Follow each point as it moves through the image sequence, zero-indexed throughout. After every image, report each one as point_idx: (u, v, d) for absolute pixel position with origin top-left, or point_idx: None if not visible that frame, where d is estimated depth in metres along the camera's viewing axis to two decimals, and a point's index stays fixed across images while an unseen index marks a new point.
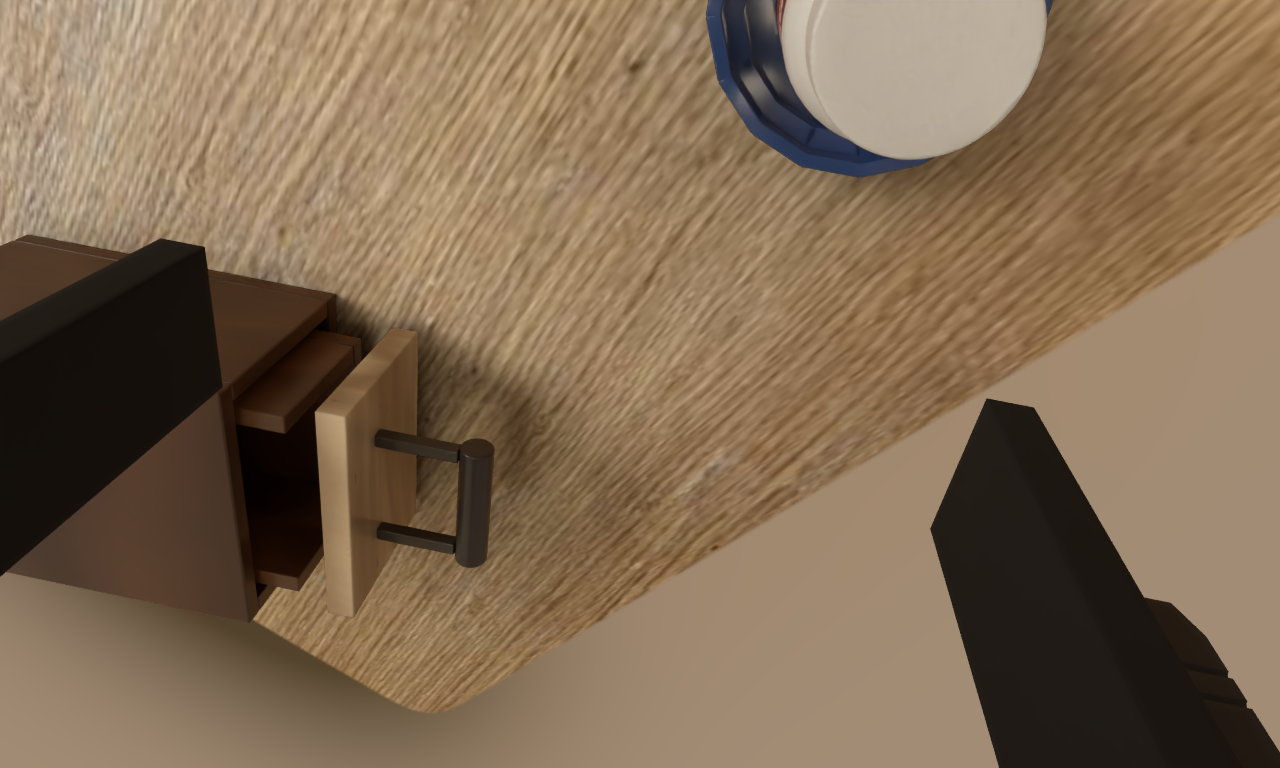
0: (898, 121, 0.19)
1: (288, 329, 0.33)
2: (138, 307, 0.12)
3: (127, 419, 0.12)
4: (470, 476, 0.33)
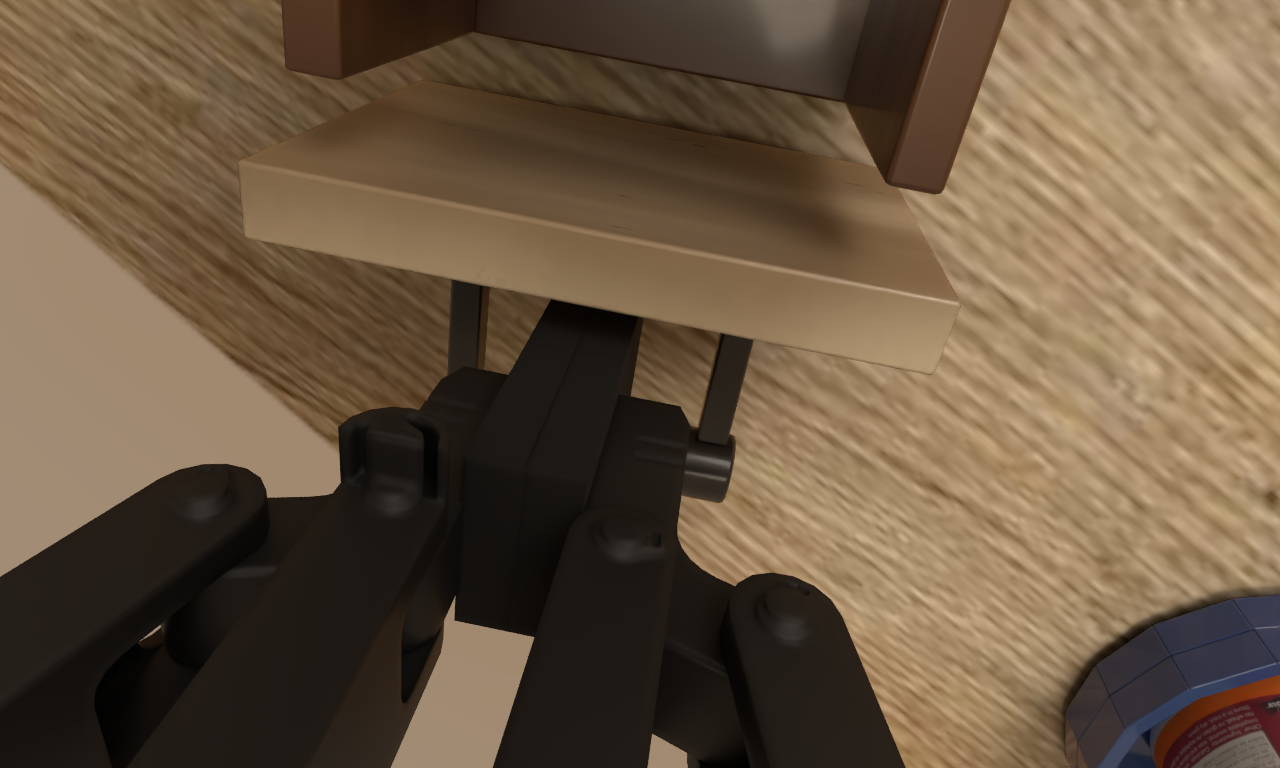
0: None
1: None
2: None
3: None
4: None
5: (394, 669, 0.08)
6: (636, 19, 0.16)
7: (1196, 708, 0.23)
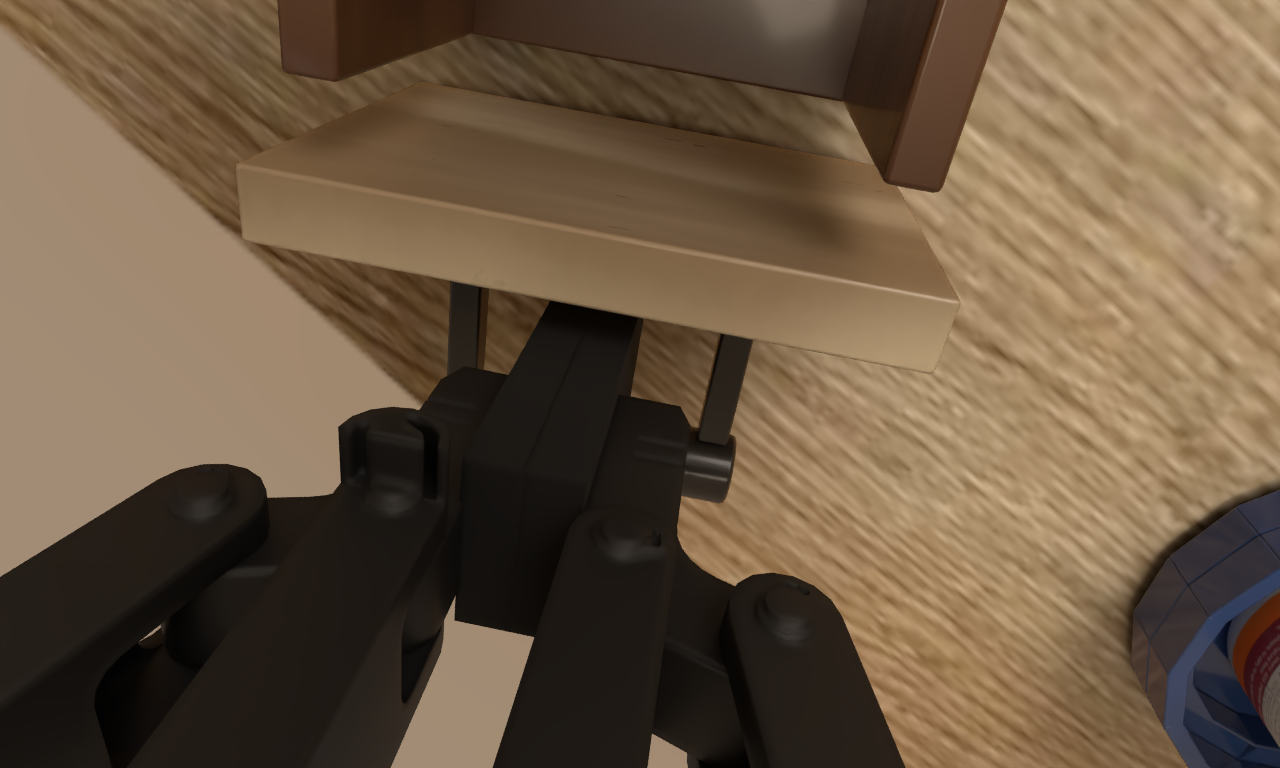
0: None
1: None
2: None
3: None
4: None
5: (394, 669, 0.08)
6: (634, 19, 0.16)
7: None
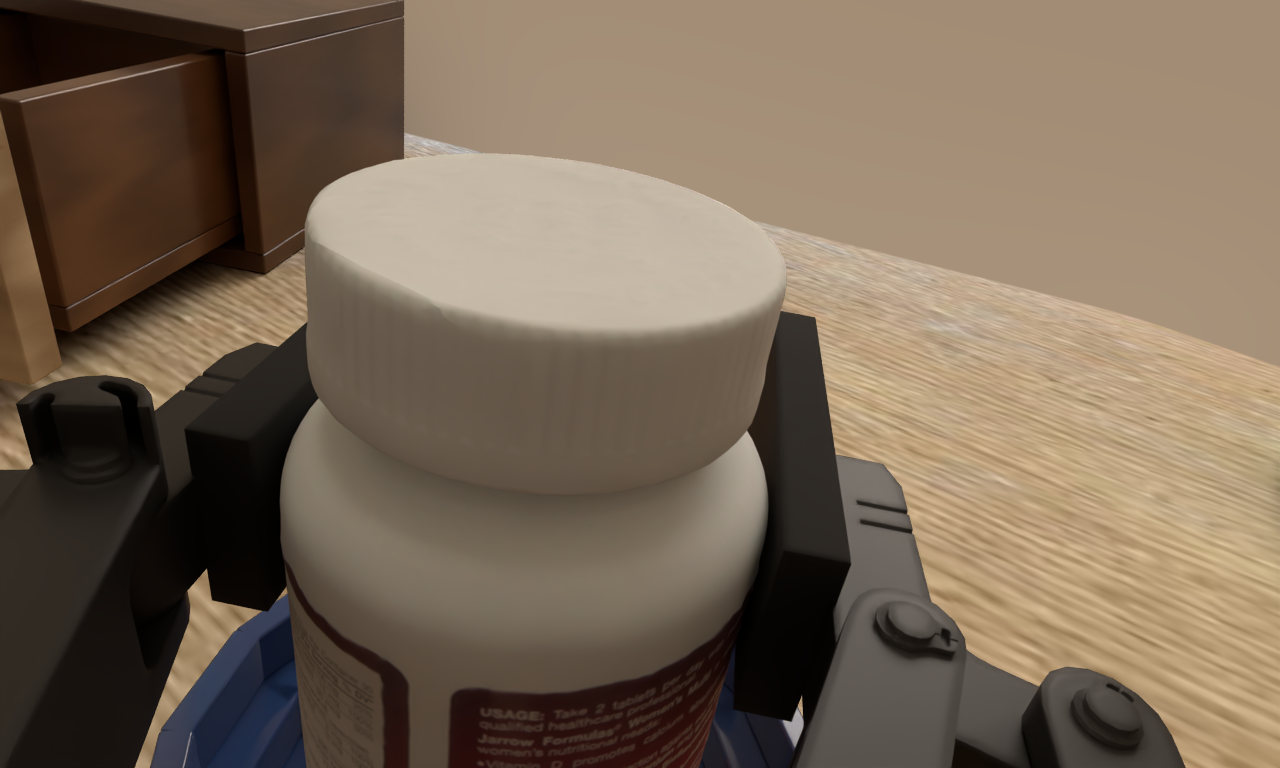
0: (411, 190, 0.09)
1: (259, 177, 0.30)
2: None
3: None
4: None
5: (127, 633, 0.08)
6: None
7: None
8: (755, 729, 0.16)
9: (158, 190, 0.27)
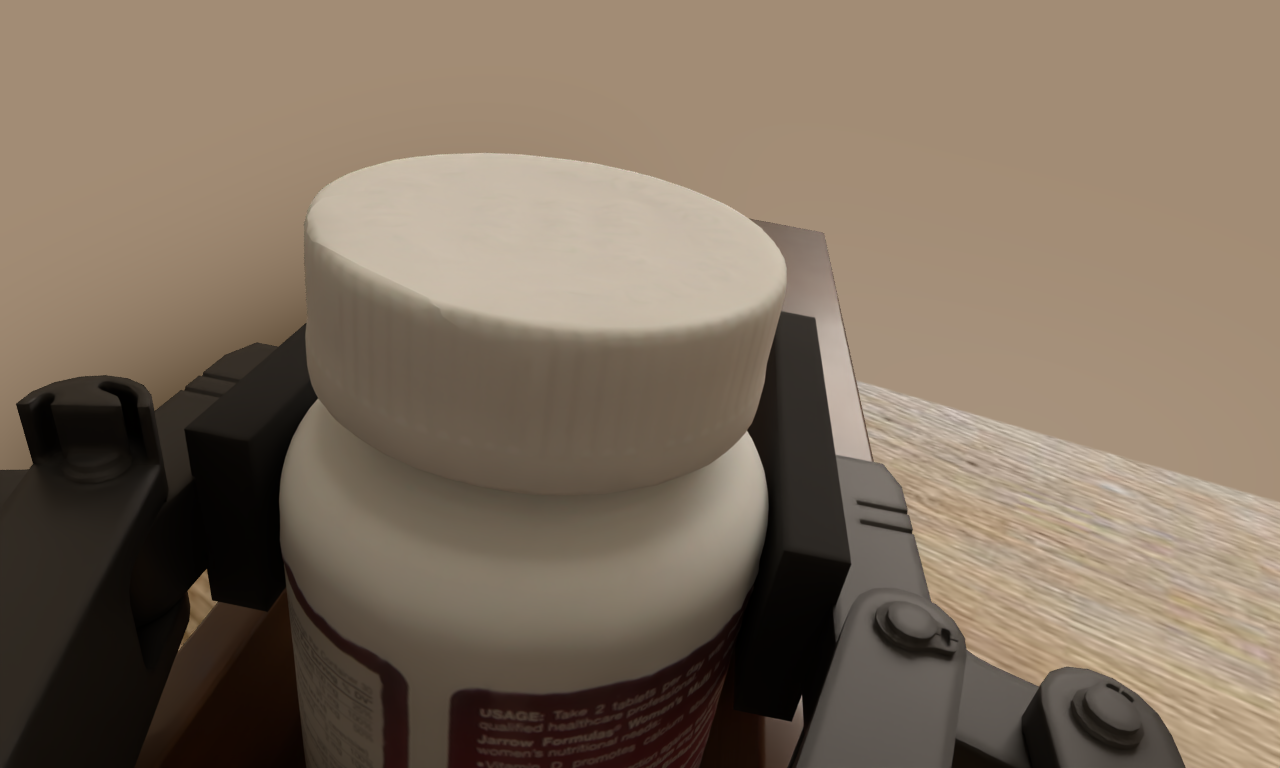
0: (411, 190, 0.09)
1: None
2: None
3: None
4: None
5: (127, 633, 0.08)
6: None
7: None
8: None
9: None
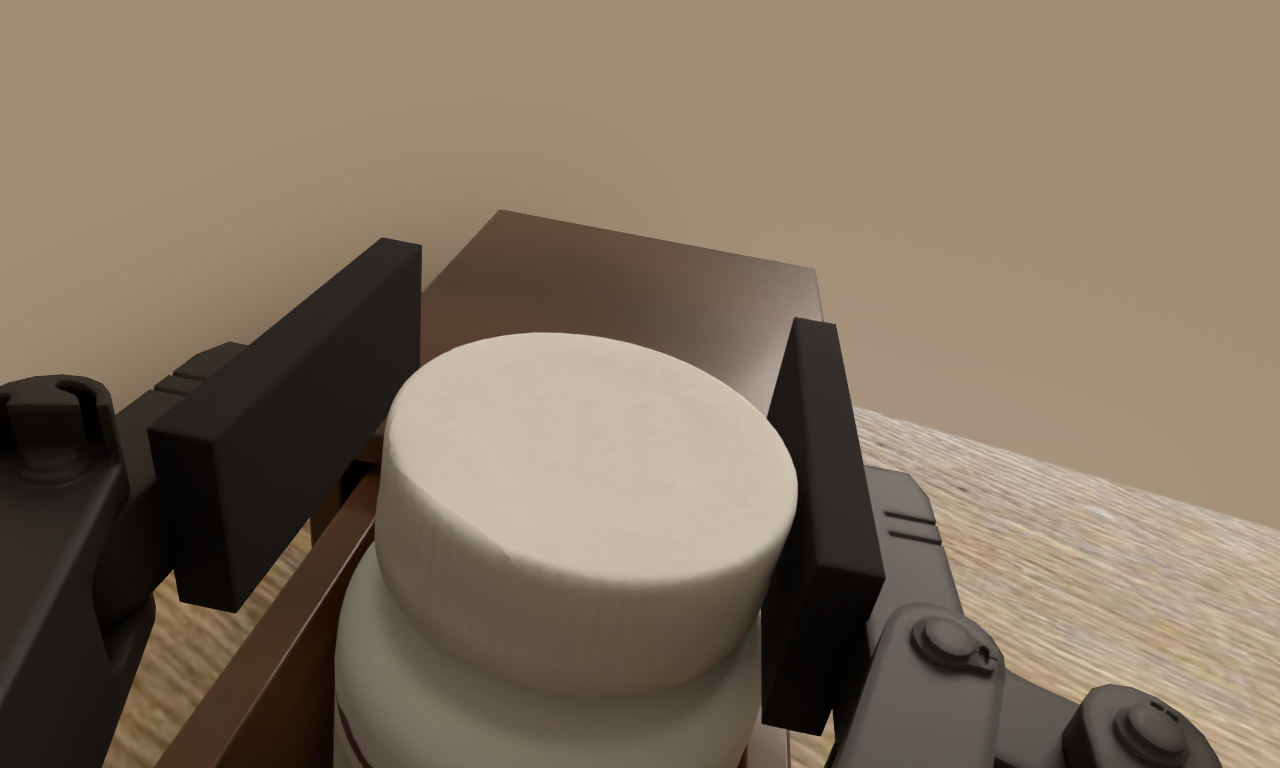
0: (473, 392, 0.10)
1: None
2: (383, 298, 0.13)
3: (370, 400, 0.14)
4: None
5: (91, 633, 0.08)
6: None
7: None
8: None
9: None
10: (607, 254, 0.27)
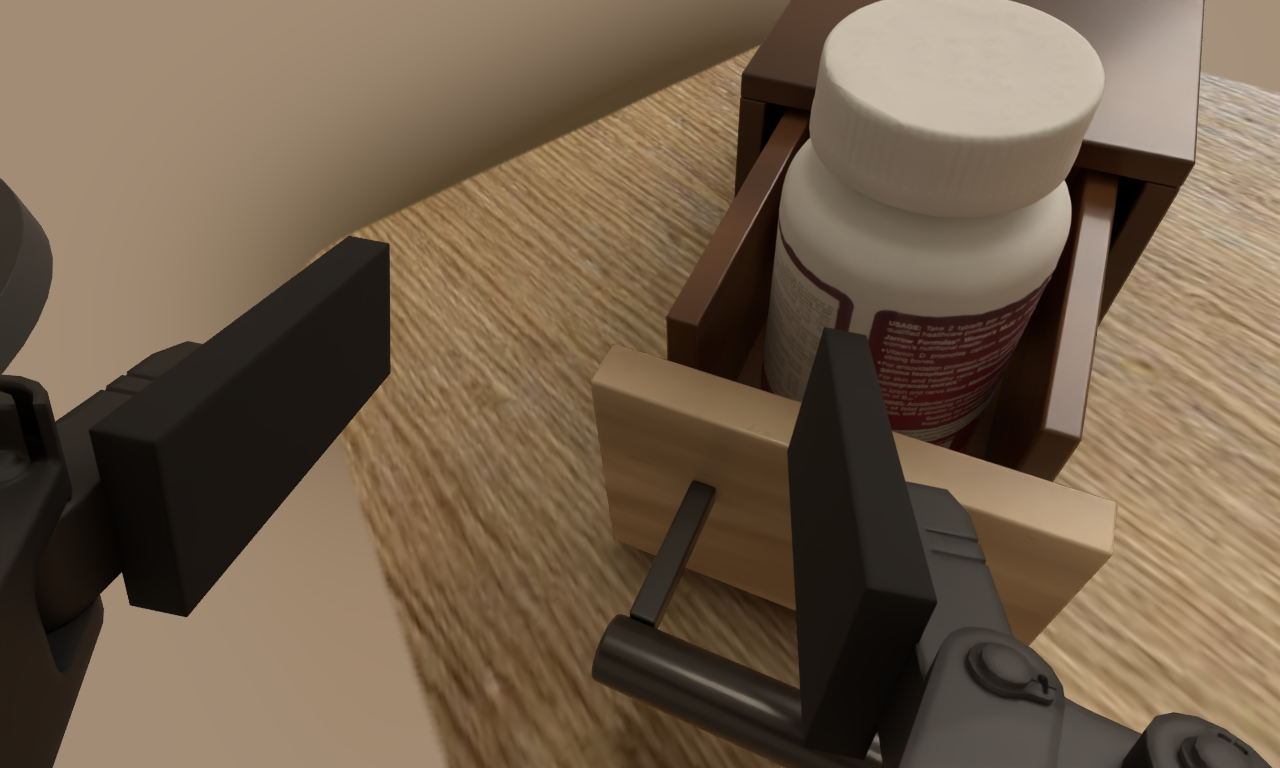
0: (873, 37, 0.16)
1: (1108, 308, 0.24)
2: (347, 297, 0.13)
3: (335, 400, 0.13)
4: None
5: (35, 635, 0.08)
6: None
7: None
8: None
9: None
10: None
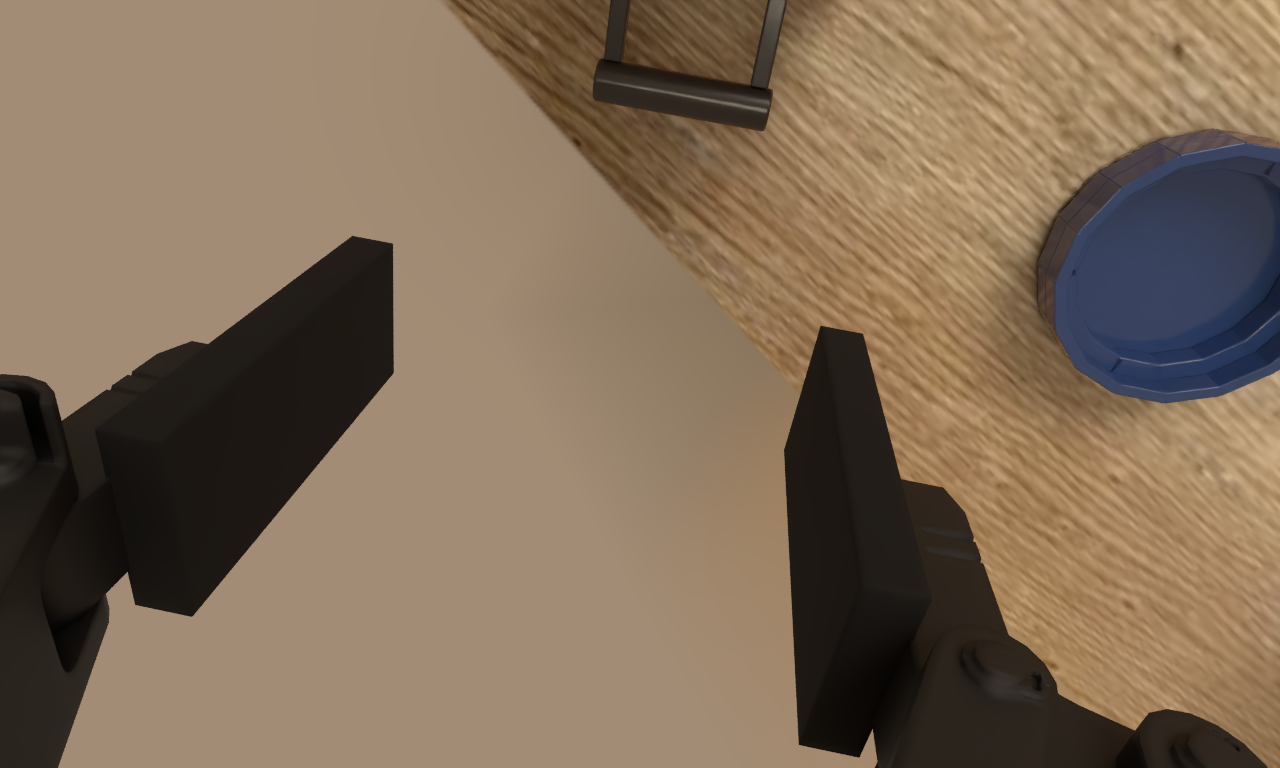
0: None
1: None
2: (351, 297, 0.13)
3: (339, 399, 0.13)
4: (739, 107, 0.27)
5: (41, 635, 0.08)
6: None
7: None
8: None
9: None
10: None
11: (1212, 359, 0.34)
